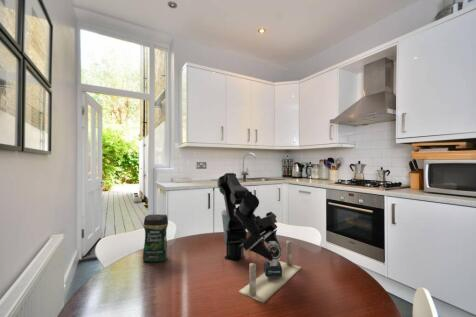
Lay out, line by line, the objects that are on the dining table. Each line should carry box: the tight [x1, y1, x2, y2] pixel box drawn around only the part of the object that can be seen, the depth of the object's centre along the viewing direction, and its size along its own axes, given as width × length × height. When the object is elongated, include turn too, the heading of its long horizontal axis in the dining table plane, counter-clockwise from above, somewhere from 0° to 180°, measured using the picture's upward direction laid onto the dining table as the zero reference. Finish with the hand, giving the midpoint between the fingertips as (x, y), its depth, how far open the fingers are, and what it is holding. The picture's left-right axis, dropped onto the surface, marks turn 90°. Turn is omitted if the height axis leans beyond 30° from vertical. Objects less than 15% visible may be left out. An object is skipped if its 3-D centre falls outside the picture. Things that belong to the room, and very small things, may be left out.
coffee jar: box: [142, 213, 169, 263], centre depth 98 cm, size 10×8×19 cm
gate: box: [238, 240, 302, 304], centre depth 81 cm, size 9×28×10 cm, turn 143°
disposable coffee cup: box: [220, 208, 228, 235], centre depth 128 cm, size 11×11×15 cm
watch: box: [263, 241, 284, 277], centre depth 81 cm, size 6×8×11 cm
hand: (276, 255), depth 81 cm, fingers closed on watch, 8 cm apart
